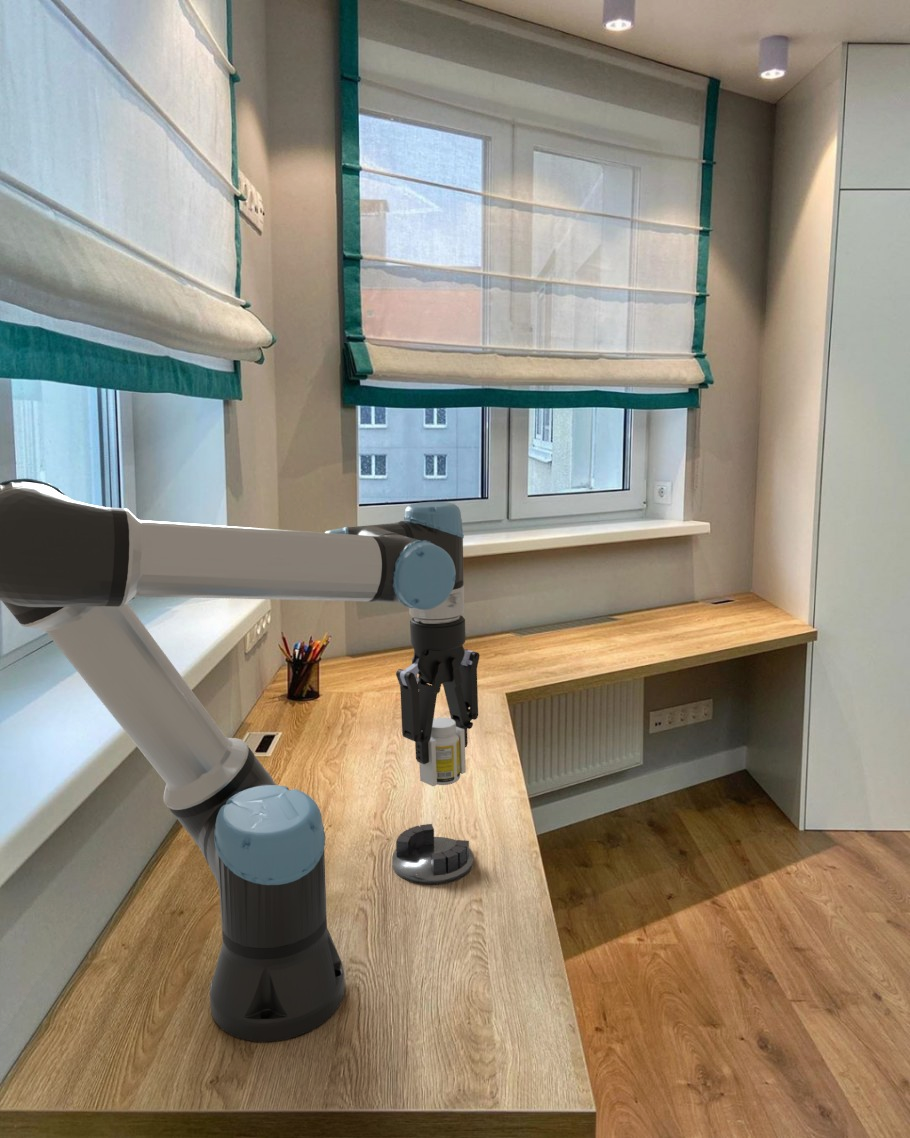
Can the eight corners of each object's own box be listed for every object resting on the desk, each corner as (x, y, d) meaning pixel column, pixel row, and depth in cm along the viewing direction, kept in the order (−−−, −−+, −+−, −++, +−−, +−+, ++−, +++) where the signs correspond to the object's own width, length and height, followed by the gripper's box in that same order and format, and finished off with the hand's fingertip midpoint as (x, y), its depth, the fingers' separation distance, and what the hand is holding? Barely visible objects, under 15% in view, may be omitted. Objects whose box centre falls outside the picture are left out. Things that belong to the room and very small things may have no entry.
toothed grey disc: (432, 894, 120) (432, 871, 120) (375, 863, 129) (375, 842, 128) (489, 861, 129) (489, 839, 128) (433, 834, 137) (432, 814, 136)
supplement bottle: (442, 768, 126) (441, 713, 124) (467, 777, 122) (465, 721, 121) (419, 779, 122) (417, 723, 121) (443, 789, 119) (442, 731, 117)
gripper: (404, 635, 109) (412, 806, 114) (502, 608, 121) (506, 764, 126) (368, 624, 115) (376, 788, 119) (465, 600, 126) (470, 750, 131)
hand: (443, 776), depth 122 cm, fingers closed on supplement bottle, 5 cm apart
